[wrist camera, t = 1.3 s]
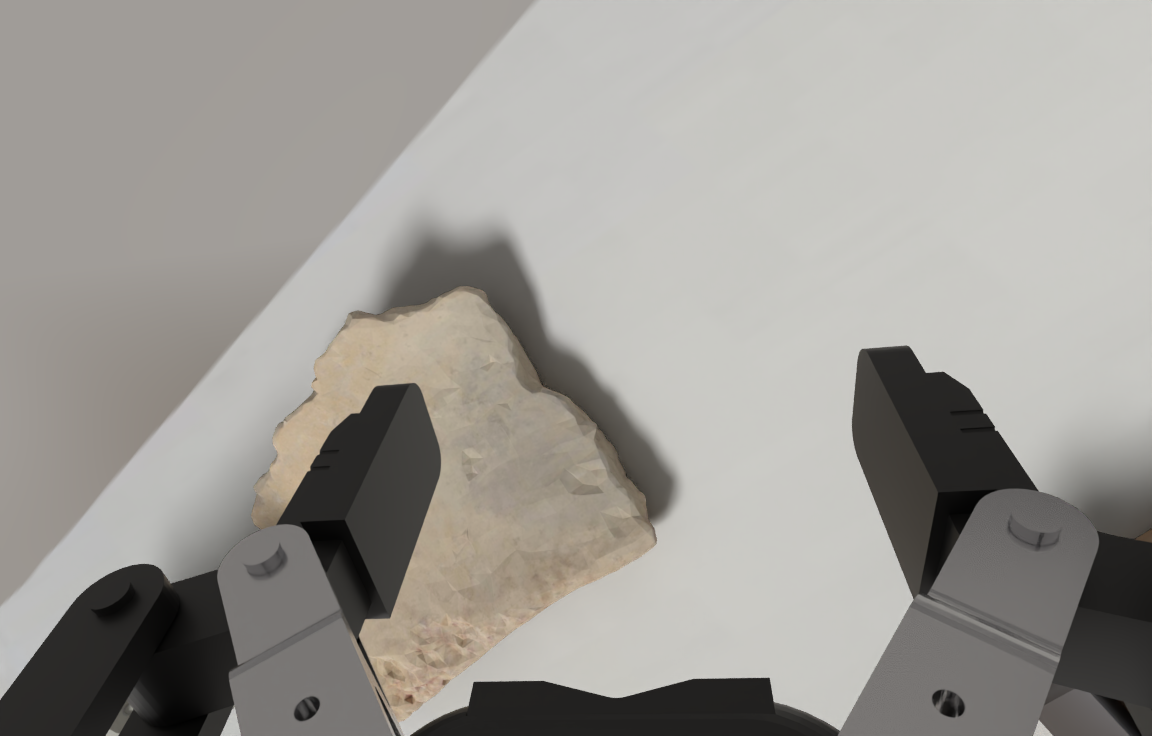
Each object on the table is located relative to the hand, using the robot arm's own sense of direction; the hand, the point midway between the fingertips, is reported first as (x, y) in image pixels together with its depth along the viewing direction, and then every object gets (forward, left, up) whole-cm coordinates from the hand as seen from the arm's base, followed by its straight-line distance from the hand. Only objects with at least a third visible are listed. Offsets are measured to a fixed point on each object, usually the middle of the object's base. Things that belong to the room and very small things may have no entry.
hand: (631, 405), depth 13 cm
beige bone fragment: (+21, -7, -25) cm, 33 cm away
